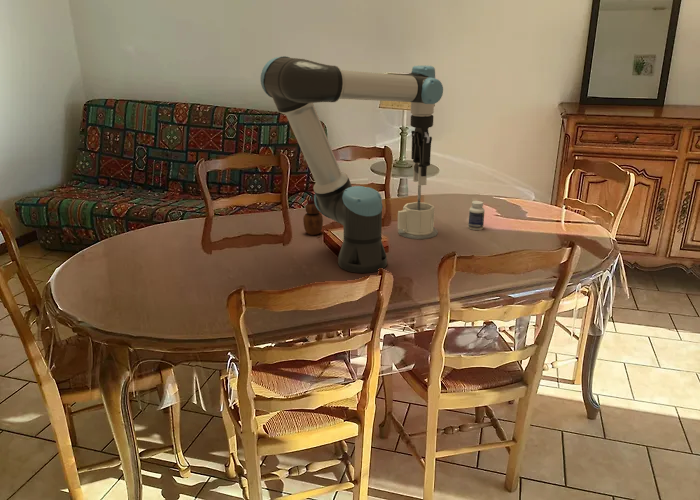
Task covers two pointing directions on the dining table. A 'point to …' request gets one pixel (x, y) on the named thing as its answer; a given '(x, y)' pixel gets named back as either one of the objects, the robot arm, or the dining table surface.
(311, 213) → the wooden figurine
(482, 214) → the pill bottle
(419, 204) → the plunger
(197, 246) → the dining table surface
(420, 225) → the white faceted cup
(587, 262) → the dining table surface
